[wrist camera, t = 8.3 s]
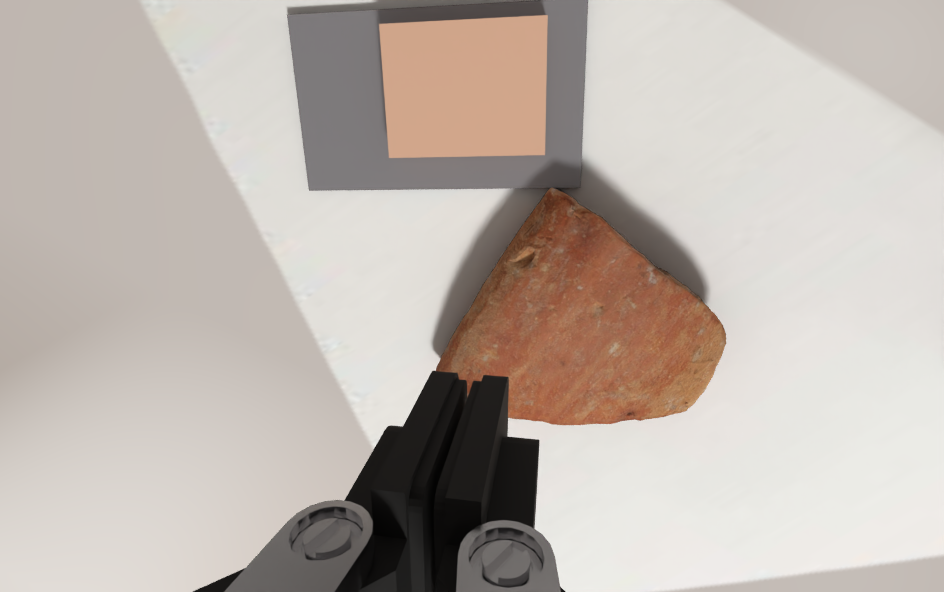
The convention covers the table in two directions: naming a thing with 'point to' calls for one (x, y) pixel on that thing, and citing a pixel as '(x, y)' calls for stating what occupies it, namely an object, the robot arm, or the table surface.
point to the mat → (364, 117)
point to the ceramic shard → (585, 326)
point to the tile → (465, 87)
